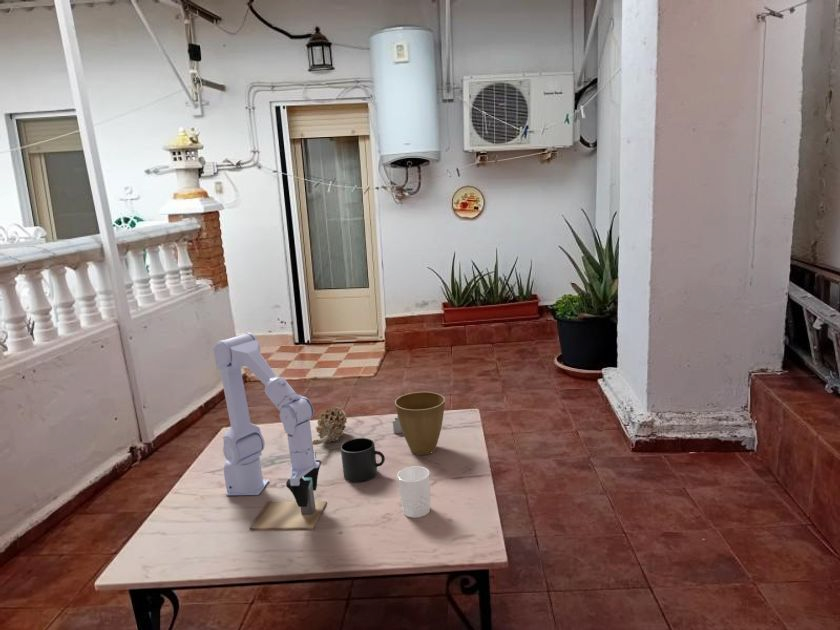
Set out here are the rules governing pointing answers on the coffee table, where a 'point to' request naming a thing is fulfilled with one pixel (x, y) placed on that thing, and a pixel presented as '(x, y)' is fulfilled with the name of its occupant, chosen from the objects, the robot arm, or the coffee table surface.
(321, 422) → the pine cone
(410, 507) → the white cup
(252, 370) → the robot arm
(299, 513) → the tan rectangular board
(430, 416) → the plant pot
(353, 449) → the mug
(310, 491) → the teal block
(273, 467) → the coffee table surface
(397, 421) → the lighter
